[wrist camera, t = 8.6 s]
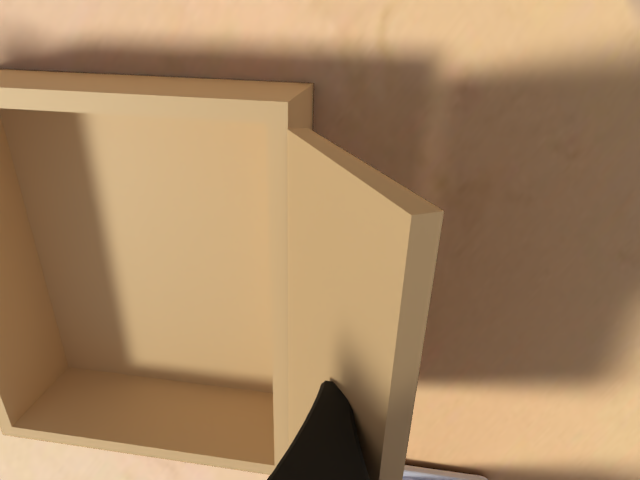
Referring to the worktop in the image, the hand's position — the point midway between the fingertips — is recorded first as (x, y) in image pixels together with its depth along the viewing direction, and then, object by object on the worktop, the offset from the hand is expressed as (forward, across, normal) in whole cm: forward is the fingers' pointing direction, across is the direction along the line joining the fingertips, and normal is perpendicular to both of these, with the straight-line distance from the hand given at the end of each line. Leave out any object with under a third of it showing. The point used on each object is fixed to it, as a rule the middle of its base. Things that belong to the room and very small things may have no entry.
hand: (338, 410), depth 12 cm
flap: (+1, 0, 0) cm, 1 cm away
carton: (+8, +8, 0) cm, 12 cm away
